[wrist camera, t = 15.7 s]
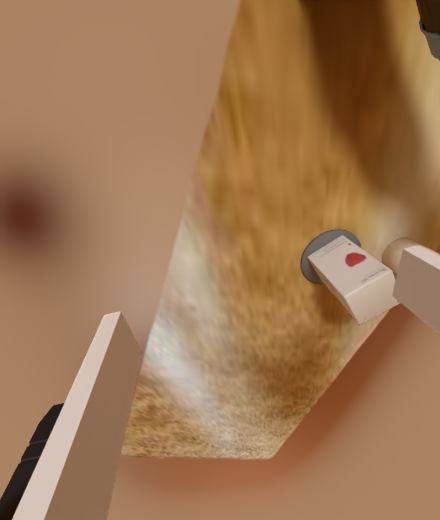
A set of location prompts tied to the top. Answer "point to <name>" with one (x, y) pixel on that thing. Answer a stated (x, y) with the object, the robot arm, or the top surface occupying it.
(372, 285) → the supplement box
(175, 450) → the top surface
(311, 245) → the base disk
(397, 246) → the beige rounded cylinder
